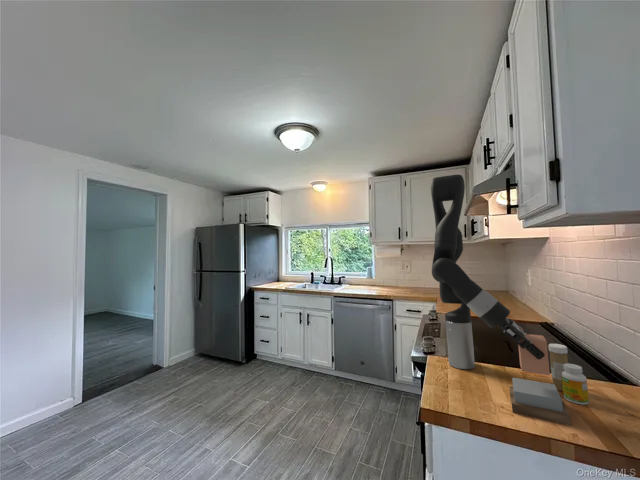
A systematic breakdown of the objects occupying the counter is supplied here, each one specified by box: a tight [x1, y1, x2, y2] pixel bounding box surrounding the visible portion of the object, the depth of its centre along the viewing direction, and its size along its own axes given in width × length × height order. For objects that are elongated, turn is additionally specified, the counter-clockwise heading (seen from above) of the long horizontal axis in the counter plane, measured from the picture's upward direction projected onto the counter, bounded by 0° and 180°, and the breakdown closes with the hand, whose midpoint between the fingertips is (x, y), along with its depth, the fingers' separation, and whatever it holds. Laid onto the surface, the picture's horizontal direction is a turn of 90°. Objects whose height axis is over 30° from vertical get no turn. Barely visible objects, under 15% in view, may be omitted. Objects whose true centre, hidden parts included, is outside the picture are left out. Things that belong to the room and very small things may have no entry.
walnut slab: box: [509, 385, 572, 426], centre depth 76 cm, size 12×12×3 cm
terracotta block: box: [517, 333, 551, 376], centre depth 77 cm, size 6×6×9 cm
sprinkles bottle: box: [547, 343, 569, 392], centre depth 86 cm, size 5×5×13 cm
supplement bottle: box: [562, 363, 590, 406], centre depth 79 cm, size 5×5×10 cm
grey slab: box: [512, 377, 563, 412], centre depth 76 cm, size 10×10×3 cm
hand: (540, 353), depth 76 cm, fingers closed on terracotta block, 6 cm apart
